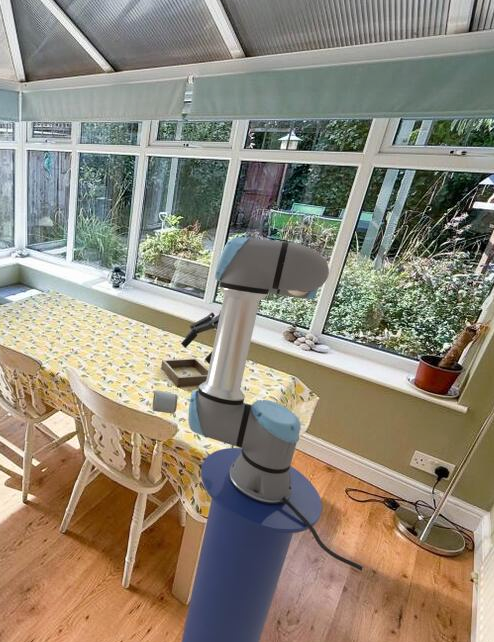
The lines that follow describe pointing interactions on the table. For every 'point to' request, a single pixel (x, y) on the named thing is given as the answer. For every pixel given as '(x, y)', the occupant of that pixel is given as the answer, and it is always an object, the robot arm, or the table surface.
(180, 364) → the walnut holder
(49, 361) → the table surface
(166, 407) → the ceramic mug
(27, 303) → the table surface
